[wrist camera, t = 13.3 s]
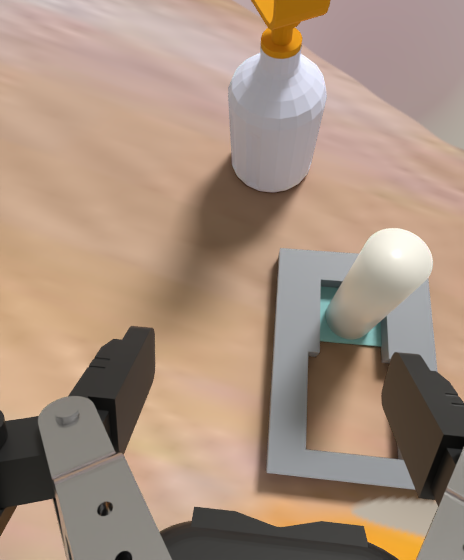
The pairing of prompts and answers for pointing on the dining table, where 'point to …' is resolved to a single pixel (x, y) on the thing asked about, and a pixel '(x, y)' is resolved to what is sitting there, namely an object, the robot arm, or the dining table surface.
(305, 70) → the soap bottle
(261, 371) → the dining table surface
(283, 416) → the rectangular recess board
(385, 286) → the cream rounded cylinder
